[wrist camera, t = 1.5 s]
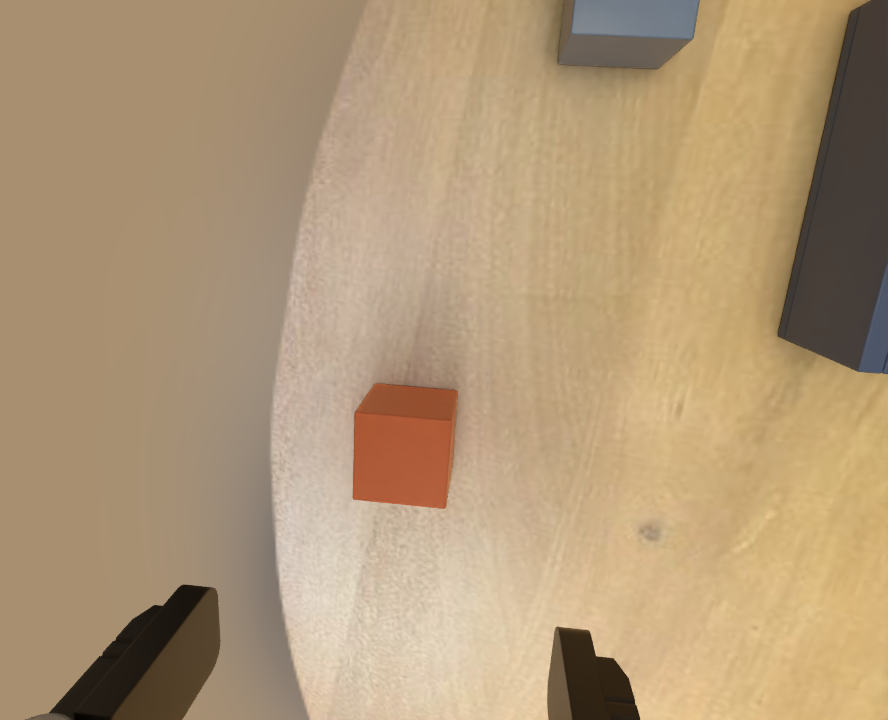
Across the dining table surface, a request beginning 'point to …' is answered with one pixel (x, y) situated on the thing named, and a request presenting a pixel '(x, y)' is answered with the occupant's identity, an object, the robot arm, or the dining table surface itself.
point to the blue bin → (848, 212)
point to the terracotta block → (404, 445)
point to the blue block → (625, 32)
